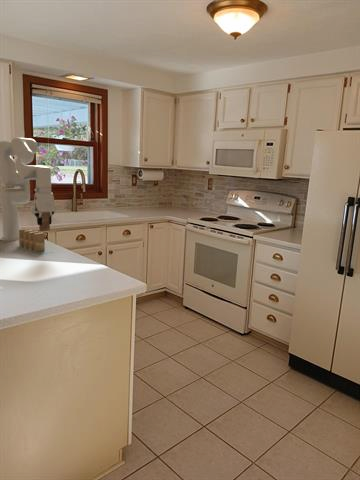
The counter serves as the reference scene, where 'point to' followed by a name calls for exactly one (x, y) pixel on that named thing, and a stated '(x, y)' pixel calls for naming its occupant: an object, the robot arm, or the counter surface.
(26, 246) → the domino
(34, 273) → the counter surface
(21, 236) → the domino
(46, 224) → the domino
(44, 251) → the board
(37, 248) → the domino
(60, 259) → the counter surface
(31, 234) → the domino
